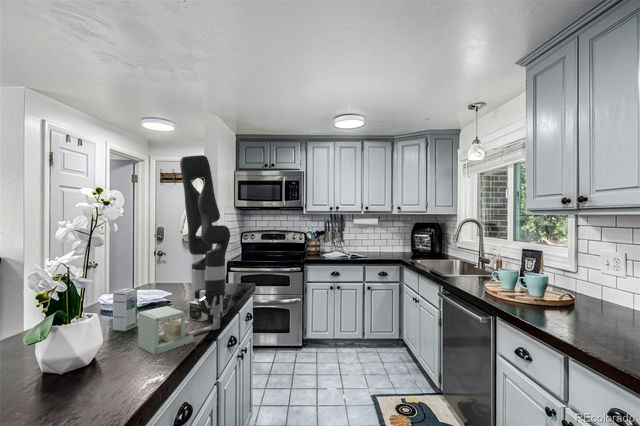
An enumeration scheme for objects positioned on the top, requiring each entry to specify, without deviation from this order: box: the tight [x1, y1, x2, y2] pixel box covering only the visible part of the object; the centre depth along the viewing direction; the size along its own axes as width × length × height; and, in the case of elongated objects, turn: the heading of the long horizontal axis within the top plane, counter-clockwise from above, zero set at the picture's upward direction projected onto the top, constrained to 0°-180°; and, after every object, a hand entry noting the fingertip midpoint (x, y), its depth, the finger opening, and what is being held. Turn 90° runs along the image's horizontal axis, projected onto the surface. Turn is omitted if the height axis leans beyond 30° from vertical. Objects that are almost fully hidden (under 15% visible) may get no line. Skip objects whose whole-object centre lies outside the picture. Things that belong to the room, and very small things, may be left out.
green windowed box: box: [137, 305, 194, 356], centre depth 107 cm, size 13×11×11 cm
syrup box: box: [112, 288, 138, 332], centre depth 122 cm, size 6×6×14 cm
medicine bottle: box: [189, 289, 207, 322], centre depth 135 cm, size 7×7×12 cm
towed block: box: [163, 304, 221, 343], centre depth 116 cm, size 19×6×9 cm, turn 142°
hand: (214, 322), depth 122 cm, fingers closed on towed block, 3 cm apart
